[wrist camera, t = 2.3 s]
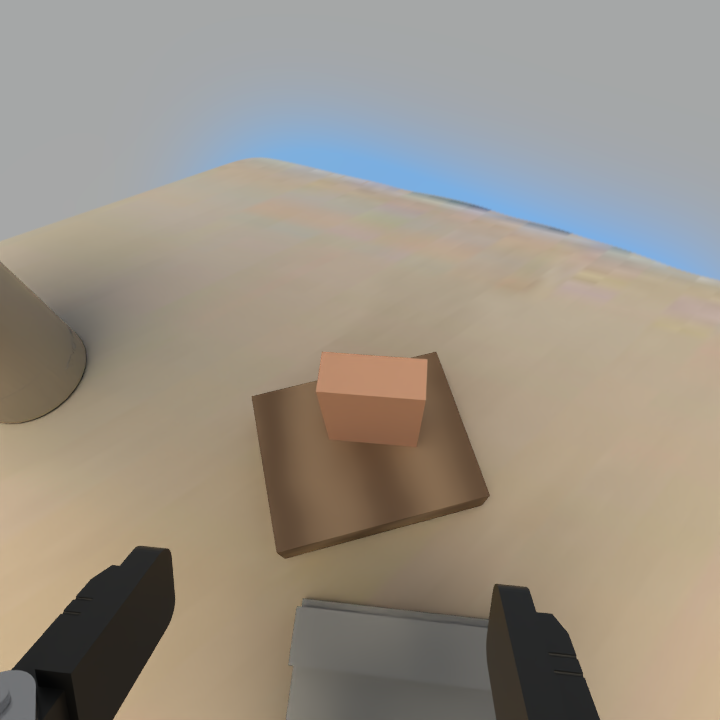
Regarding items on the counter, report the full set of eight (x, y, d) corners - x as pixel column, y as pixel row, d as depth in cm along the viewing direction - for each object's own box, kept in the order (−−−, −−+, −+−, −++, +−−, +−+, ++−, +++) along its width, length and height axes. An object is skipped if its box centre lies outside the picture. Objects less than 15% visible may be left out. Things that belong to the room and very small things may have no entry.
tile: (329, 439, 34) (315, 391, 27) (333, 406, 35) (322, 351, 28) (416, 447, 34) (425, 400, 27) (418, 413, 35) (427, 359, 28)
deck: (285, 558, 33) (276, 552, 31) (260, 412, 39) (251, 396, 36) (481, 505, 35) (489, 495, 32) (432, 369, 40) (436, 351, 37)
